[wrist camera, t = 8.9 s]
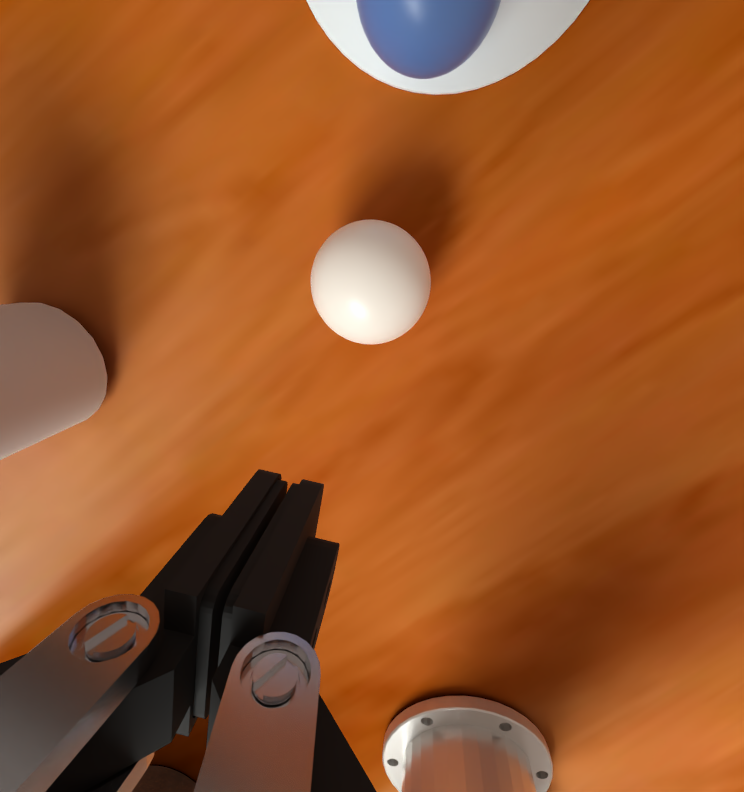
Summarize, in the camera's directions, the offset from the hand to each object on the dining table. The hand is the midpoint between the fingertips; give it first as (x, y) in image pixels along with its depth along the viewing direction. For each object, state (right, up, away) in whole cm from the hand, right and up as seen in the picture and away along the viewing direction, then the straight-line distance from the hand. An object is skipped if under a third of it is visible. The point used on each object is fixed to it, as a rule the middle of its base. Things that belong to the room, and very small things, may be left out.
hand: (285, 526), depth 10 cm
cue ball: (+2, +8, +8) cm, 12 cm away
